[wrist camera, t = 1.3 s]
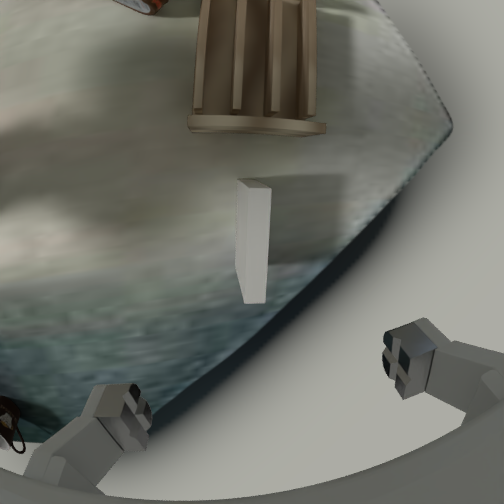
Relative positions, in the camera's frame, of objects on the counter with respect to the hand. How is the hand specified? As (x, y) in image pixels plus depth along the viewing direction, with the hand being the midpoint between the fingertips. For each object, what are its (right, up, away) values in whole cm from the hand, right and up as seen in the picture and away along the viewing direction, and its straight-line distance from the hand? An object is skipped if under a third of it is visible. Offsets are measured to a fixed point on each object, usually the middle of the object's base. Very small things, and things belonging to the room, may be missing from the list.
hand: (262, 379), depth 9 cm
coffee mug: (-53, -31, +33) cm, 70 cm away
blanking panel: (-1, +7, +28) cm, 29 cm away
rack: (0, +27, +21) cm, 35 cm away
